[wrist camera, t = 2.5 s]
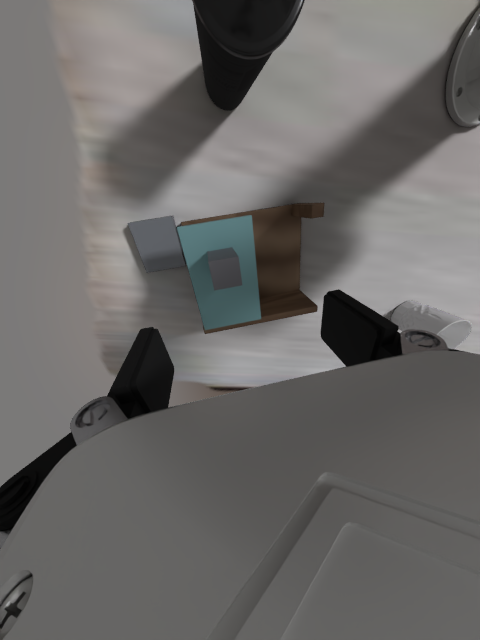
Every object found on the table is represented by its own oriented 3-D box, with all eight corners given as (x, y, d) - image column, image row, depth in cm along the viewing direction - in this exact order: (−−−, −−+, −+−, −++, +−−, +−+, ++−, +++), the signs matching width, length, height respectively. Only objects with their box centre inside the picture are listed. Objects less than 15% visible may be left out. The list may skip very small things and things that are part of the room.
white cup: (383, 330, 47) (423, 357, 39) (394, 300, 43) (441, 323, 34) (413, 325, 48) (459, 351, 39) (426, 295, 44) (480, 316, 35)
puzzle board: (181, 222, 29) (175, 227, 22) (298, 203, 30) (325, 202, 24) (204, 310, 37) (204, 334, 30) (296, 292, 38) (317, 311, 31)
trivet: (130, 222, 28) (127, 223, 27) (172, 215, 29) (171, 216, 27) (149, 270, 32) (146, 272, 31) (186, 263, 32) (185, 265, 31)
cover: (177, 226, 22) (170, 233, 17) (249, 214, 23) (263, 217, 18) (204, 326, 29) (205, 352, 24) (259, 315, 30) (270, 338, 25)
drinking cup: (269, 58, 22) (475, -407, 5) (243, 139, 26) (321, 6, 9) (204, 6, 20) (206, -1139, 3) (184, 103, 23) (129, -183, 6)
